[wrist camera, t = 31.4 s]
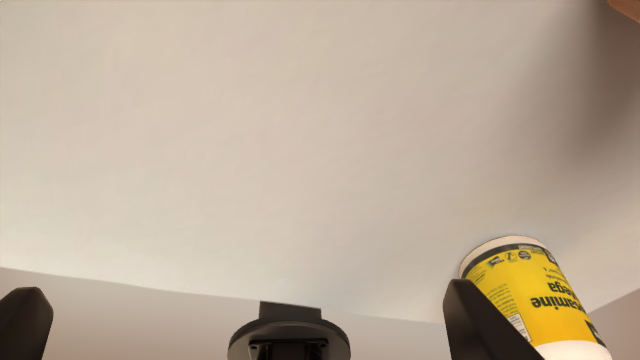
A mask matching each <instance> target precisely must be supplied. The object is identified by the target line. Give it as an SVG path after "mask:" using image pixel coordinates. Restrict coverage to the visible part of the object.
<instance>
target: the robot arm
mask: <svg viewBox="0 0 640 360" xmlns="http://www.w3.org/2000/svg"><path fill="white" fill-rule="evenodd" d="M443 312H444V318H445V324H446V330H447V335H448V341H449V347H450V352H451V358H452V360H545V359H544V358H543V357H542V356H541V355H540V353H539V352H538V351H537V350H536V349H535V348H534V347H533V346H532V345H531V344H530V343H529V342H528V341H527V340H526V338H525V337H524V336H523V335H522V334H521V333H520V332H519V331H518V330H517V329H516V328H515V327H514V326H513V325H512V324H511V322H510V321H509V320H508V319H507V318H506V317H505V316H504V315H503V314H502V313H501V312H500V311H499V310H498V309H497V307H496V306H495V305H494V304H493V303H492V302H491V301H490V300H489V299H488V298H487V297H486V296H485V295H484V294H483V293H482V291H481V290H480V289H479V288H478V287H477V286H476V285H475V284H474V283H473V282H472V281H471V280H469V279H452V280H451V281H450V283H449V285H448V288H447V291H446V294H445V297H444V300H443ZM52 321H53V309H52V306H51V305H50V303H49V302H48V300H47V299H46V297H45V296H44V294H43V293H42V291H41V290H40V289H39V288H37V287H19V288H16V289H14V290H13V291H11V292H10V293H9V294H7V295H6V296H5V297H4V298H2V299H1V300H0V360H42V356H43V353H44V349H45V345H46V342H47V339H48V335H49V331H50V328H51V324H52ZM248 350H249V356H250V360H328V351H329V341H328V339H326V338H302V339H262V340H251V341H249V343H248Z"/></svg>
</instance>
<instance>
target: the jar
mask: <svg viewBox="0 0 640 360" xmlns="http://www.w3.org/2000/svg"><path fill="white" fill-rule="evenodd" d="M605 1H606V3H607V4H608V5H609V6H611V7H612V8H613V9H615V10H617V11H618V12H620V13H622V14H624V15H625V16H627V17H629V18H631V19H633V20H634V21H636V22H638V23H640V0H605Z"/></svg>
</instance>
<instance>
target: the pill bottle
mask: <svg viewBox="0 0 640 360" xmlns="http://www.w3.org/2000/svg"><path fill="white" fill-rule="evenodd" d="M459 278H460V279H469V280H471V281H472V282H473V283H474V284H475V285H476V286H477V287H478V288H479V289H480V290H481V291H482V293H483V294H484V295H485V296H486V297H487V298H488V299H489V300H490V301H491V302H492V303H493V304H494V305H495V306H496V307H497V309H498V310H499V311H500V312H501V313H502V314H503V315H504V316H505V317H506V318H507V319H508V320H509V321H510V322H511V324H512V325H513V326H514V327H515V328H516V329H517V330H518V331H519V332H520V333H521V334H522V335H523V336H524V337H525V338H526V340H527V341H528V342H529V343H530V344H531V345H532V346H533V347H534V348H535V349H536V350H537V351H538V352H539V353H540V355H541V356H542V357H543V358H544V359H545V360H613V359H612V357H611V355H610V353H609V352H608V350H607V348H606V346H605V344H604V343H603V341H602V339H601V337H600V336H599V334H598V332H597V331H596V329H595V328H594V326H593V324H592V322H591V321H590V319H589V317H588V315H587V314H586V312H585V310H584V308H583V307H582V305H581V303H580V301H579V300H578V298H577V297H576V295H575V293H574V292H573V290H572V288H571V287H570V285H569V283H568V282H567V280H566V278H565V277H564V275H563V273H562V272H561V270H560V268H559V266H558V264H557V262H556V261H555V259H554V258H553V256H552V255H551V253H550V252H549V250H548V249H547V248H546V247H545V246H544V245H543V244H542V243H541V242H539V241H537V240H535V239H532V238H529V237H525V236H506V237H501V238H497V239H494V240H491V241H489V242H486V243H484V244H482V245H481V246H479V247H477V248H476V249H474V250H473V251H472V252H471V253H470V254H469V255H468V256H467V257H466V258H465V259H464V261H463V262H462V264H461V266H460V269H459Z"/></svg>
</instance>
